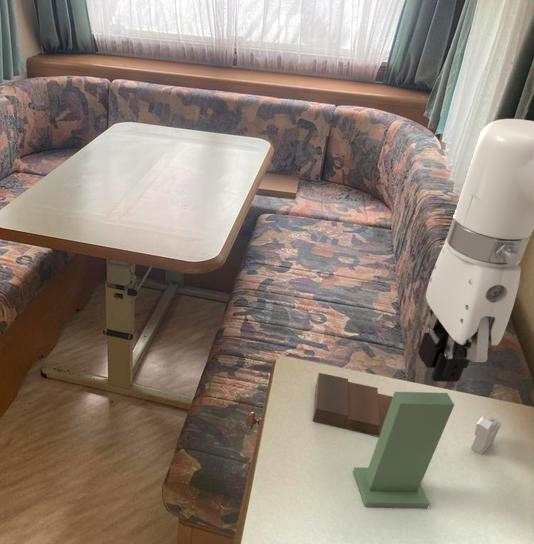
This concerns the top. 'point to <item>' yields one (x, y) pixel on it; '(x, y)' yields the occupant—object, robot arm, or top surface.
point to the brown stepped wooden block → (349, 405)
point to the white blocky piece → (485, 434)
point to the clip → (434, 348)
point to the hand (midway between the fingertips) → (438, 369)
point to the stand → (404, 450)
